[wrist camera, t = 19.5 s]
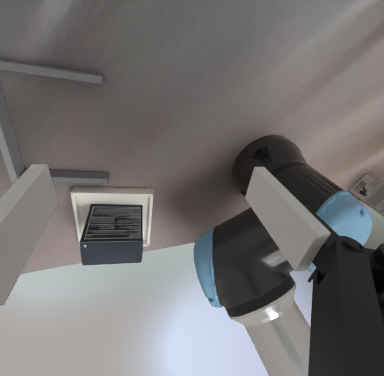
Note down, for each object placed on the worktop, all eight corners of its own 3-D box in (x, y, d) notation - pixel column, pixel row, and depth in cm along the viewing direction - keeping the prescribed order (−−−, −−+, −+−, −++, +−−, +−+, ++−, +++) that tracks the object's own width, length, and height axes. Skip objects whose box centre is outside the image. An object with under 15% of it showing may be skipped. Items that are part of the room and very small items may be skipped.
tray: (152, 188, 45) (153, 194, 43) (148, 239, 53) (149, 246, 51) (73, 186, 41) (70, 192, 39) (82, 241, 49) (79, 248, 47)
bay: (104, 74, 32) (101, 76, 30) (109, 176, 42) (107, 185, 39) (-16, 56, 28) (-31, 57, 26) (19, 173, 38) (11, 182, 35)
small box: (91, 226, 46) (80, 267, 38) (90, 202, 43) (77, 241, 34) (141, 226, 49) (141, 264, 41) (143, 204, 46) (143, 240, 37)
